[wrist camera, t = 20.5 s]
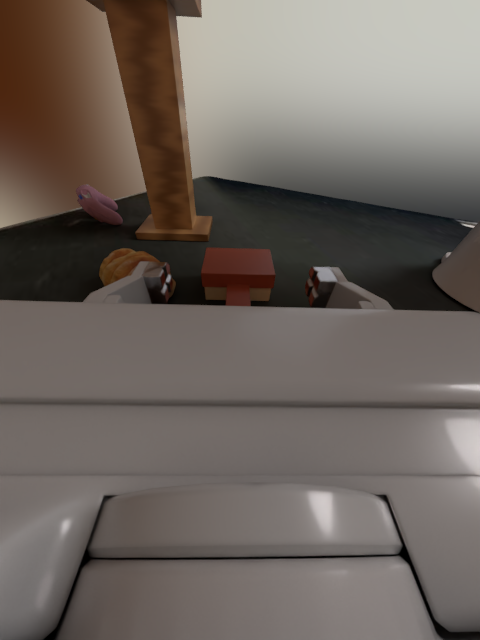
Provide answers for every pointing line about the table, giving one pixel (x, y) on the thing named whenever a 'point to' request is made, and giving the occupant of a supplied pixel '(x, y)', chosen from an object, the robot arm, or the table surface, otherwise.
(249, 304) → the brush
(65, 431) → the robot arm
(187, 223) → the stand
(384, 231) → the table surface
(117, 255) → the pastry
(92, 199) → the video game controller
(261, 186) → the table surface
